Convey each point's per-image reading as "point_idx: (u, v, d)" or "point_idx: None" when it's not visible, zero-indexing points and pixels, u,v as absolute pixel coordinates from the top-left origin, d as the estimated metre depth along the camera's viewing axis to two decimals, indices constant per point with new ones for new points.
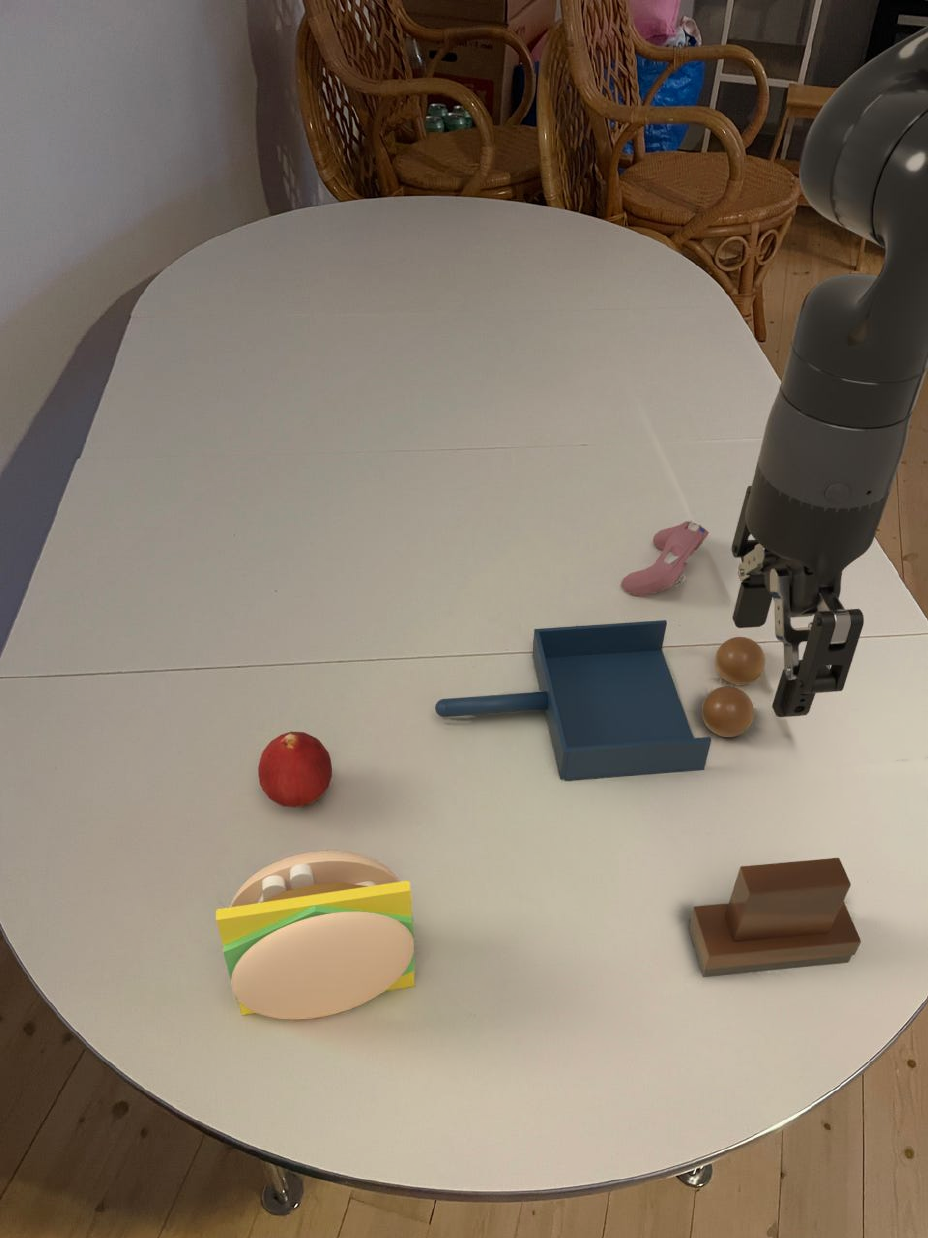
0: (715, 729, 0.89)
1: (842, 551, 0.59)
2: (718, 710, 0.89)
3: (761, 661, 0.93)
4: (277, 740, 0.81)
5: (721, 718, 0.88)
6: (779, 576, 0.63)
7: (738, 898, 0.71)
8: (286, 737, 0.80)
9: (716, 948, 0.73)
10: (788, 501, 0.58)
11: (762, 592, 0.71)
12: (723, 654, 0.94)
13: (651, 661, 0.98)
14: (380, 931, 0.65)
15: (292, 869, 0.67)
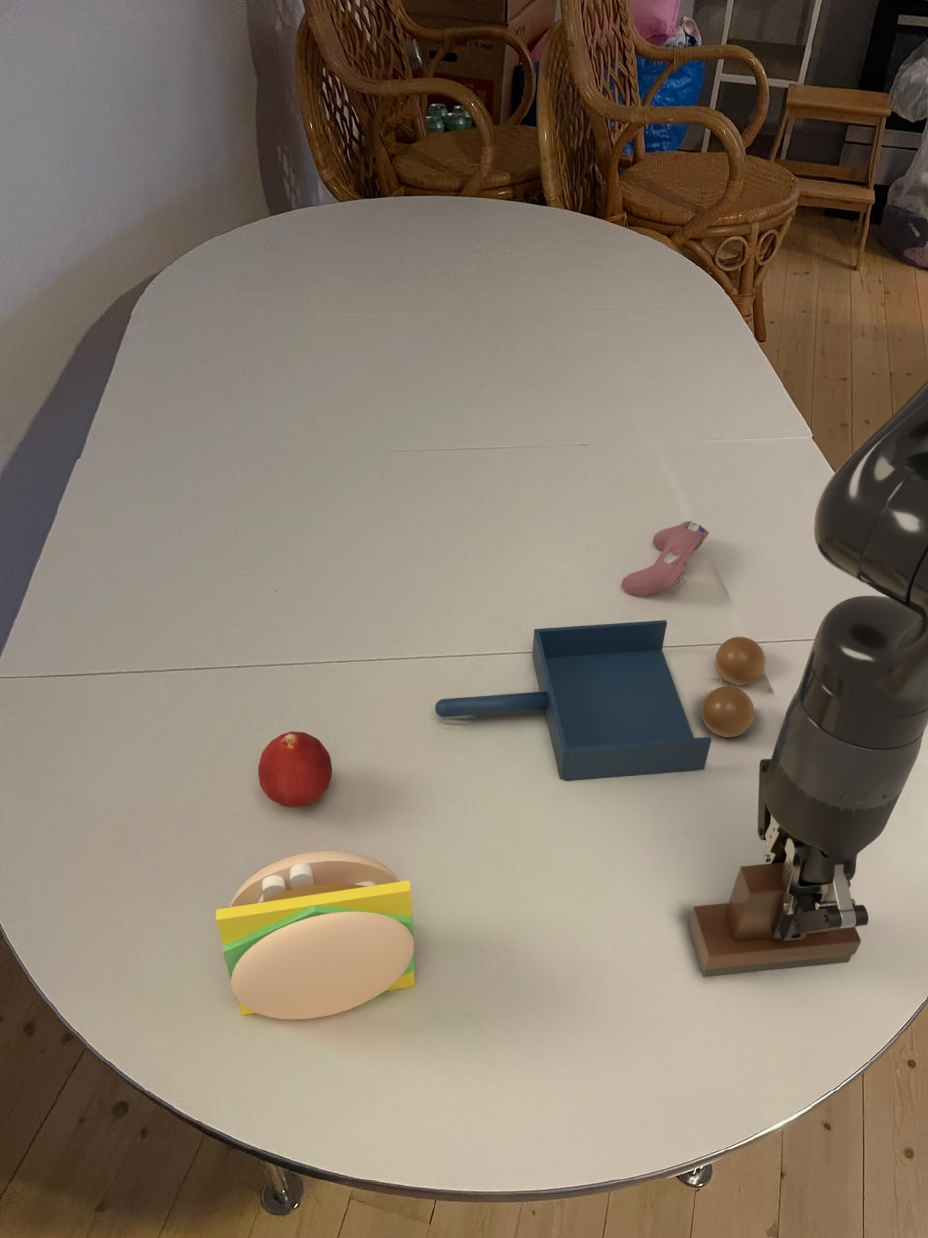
0: (715, 729, 0.89)
1: (857, 840, 0.61)
2: (718, 710, 0.89)
3: (761, 661, 0.93)
4: (277, 740, 0.82)
5: (721, 718, 0.88)
6: (796, 848, 0.65)
7: (738, 898, 0.71)
8: (286, 737, 0.80)
9: (716, 948, 0.73)
10: (806, 798, 0.60)
11: None
12: (723, 654, 0.94)
13: (651, 661, 0.98)
14: (380, 931, 0.65)
15: (292, 869, 0.67)
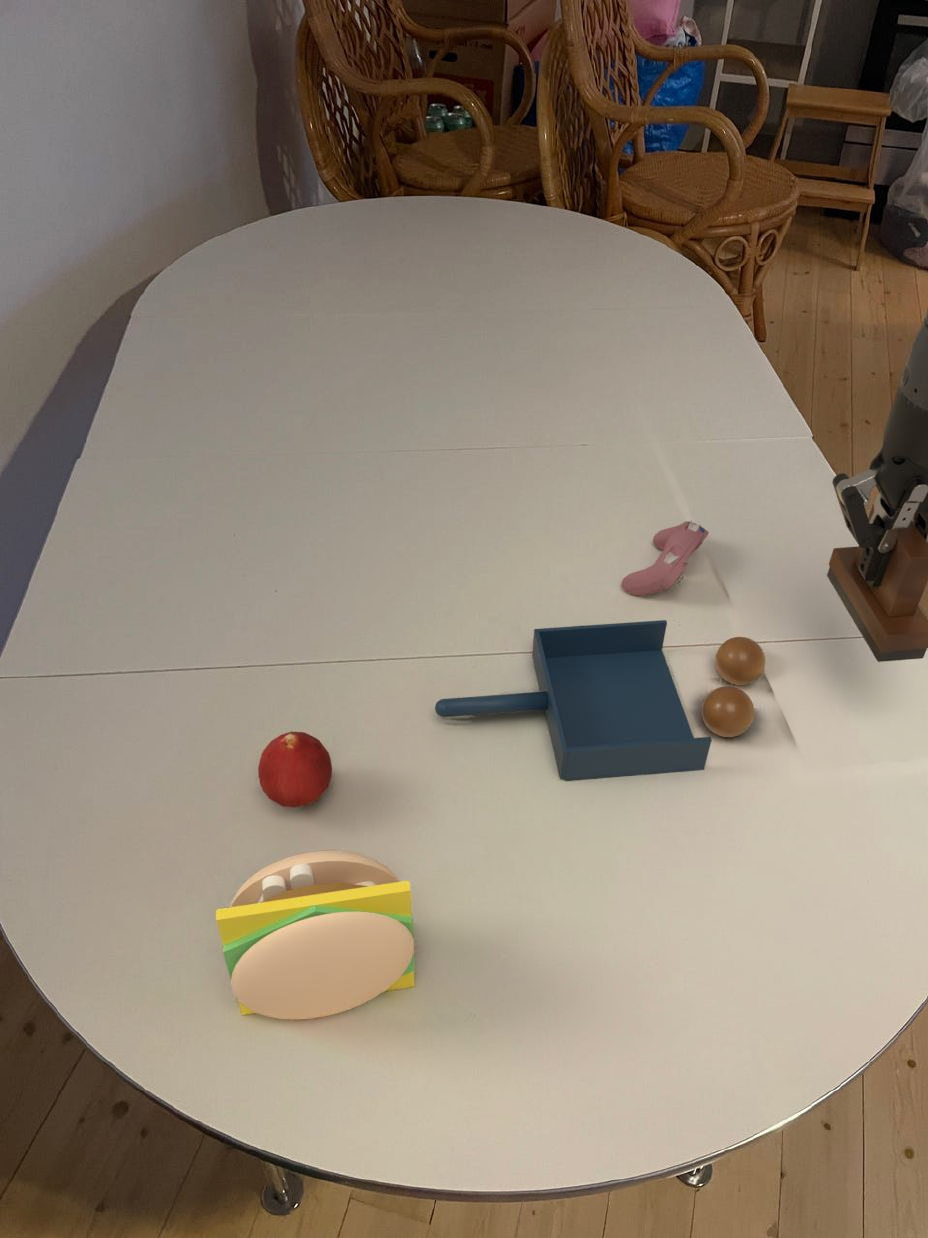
0: (715, 729, 0.89)
1: (894, 436, 0.74)
2: (718, 710, 0.89)
3: (761, 661, 0.93)
4: (277, 740, 0.82)
5: (721, 718, 0.88)
6: None
7: None
8: (286, 737, 0.80)
9: (842, 552, 0.88)
10: None
11: None
12: (723, 654, 0.94)
13: (651, 661, 0.98)
14: (380, 931, 0.65)
15: (292, 869, 0.67)
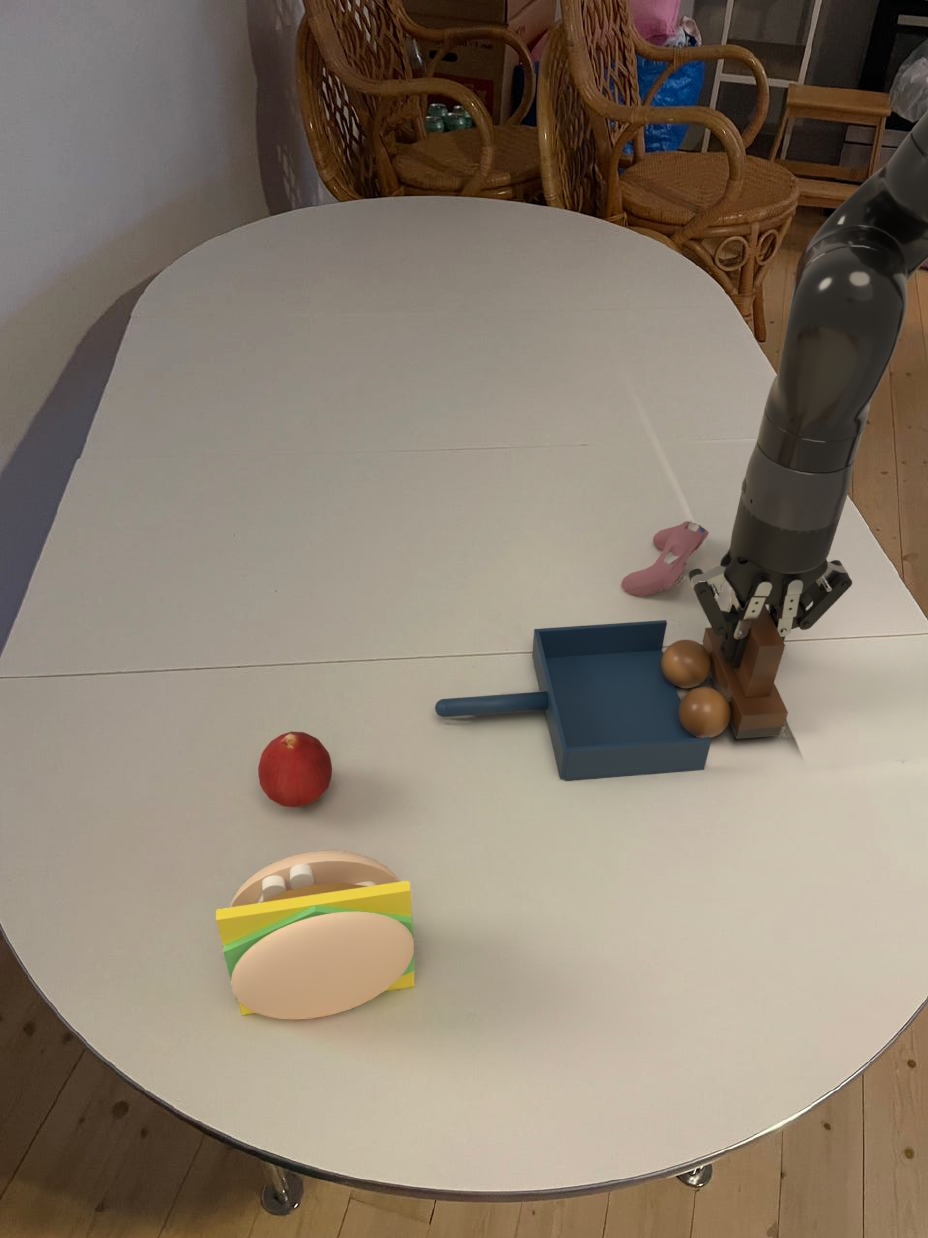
0: None
1: (737, 539, 0.81)
2: (685, 725, 0.89)
3: (671, 674, 0.93)
4: (277, 740, 0.82)
5: (692, 730, 0.89)
6: None
7: None
8: (286, 737, 0.80)
9: (713, 632, 0.95)
10: None
11: None
12: None
13: (651, 661, 0.98)
14: (380, 931, 0.65)
15: (292, 869, 0.67)
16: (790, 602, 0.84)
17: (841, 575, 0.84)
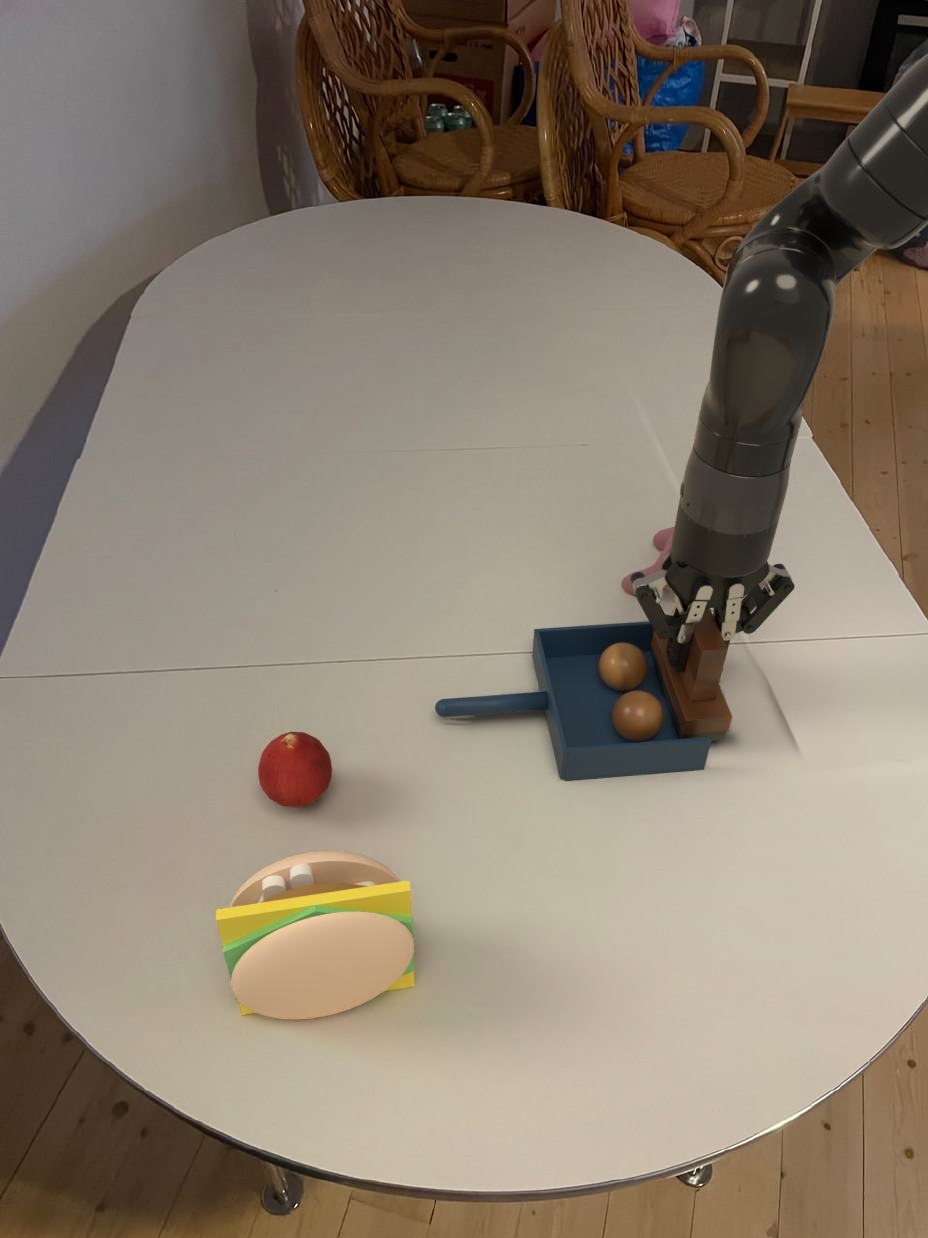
0: (656, 720, 0.88)
1: (677, 542, 0.80)
2: None
3: (640, 683, 0.94)
4: (277, 740, 0.81)
5: (659, 730, 0.89)
6: None
7: None
8: (286, 737, 0.80)
9: None
10: None
11: None
12: (632, 651, 0.92)
13: (651, 661, 0.98)
14: (380, 931, 0.65)
15: (292, 869, 0.67)
16: (732, 606, 0.84)
17: (783, 579, 0.84)
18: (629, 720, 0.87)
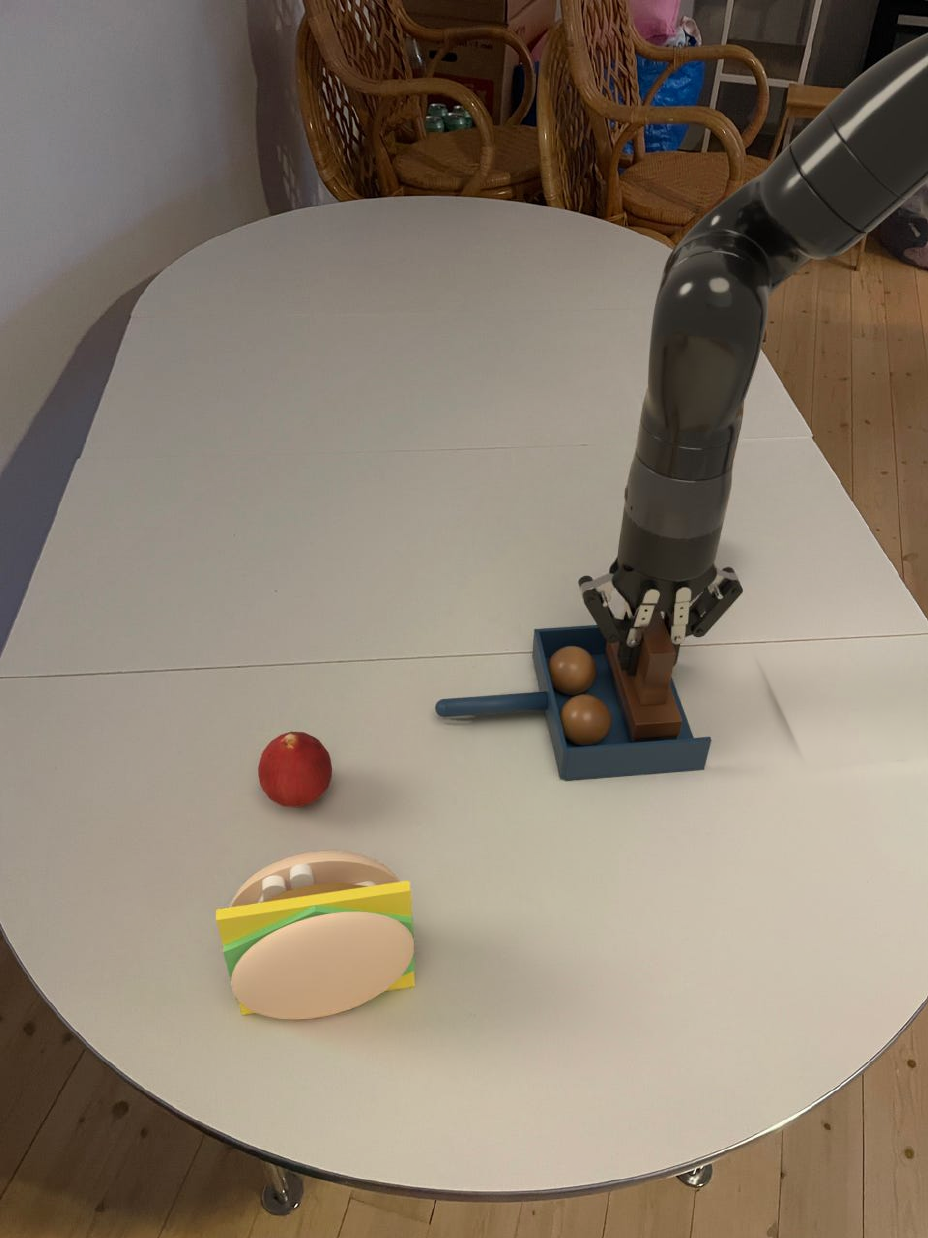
0: (571, 732, 0.87)
1: (622, 546, 0.80)
2: (583, 714, 0.87)
3: (576, 668, 0.91)
4: (277, 740, 0.82)
5: (583, 722, 0.87)
6: None
7: None
8: (286, 737, 0.80)
9: None
10: None
11: None
12: None
13: None
14: (380, 931, 0.65)
15: (292, 869, 0.67)
16: (680, 610, 0.83)
17: (732, 582, 0.83)
18: None
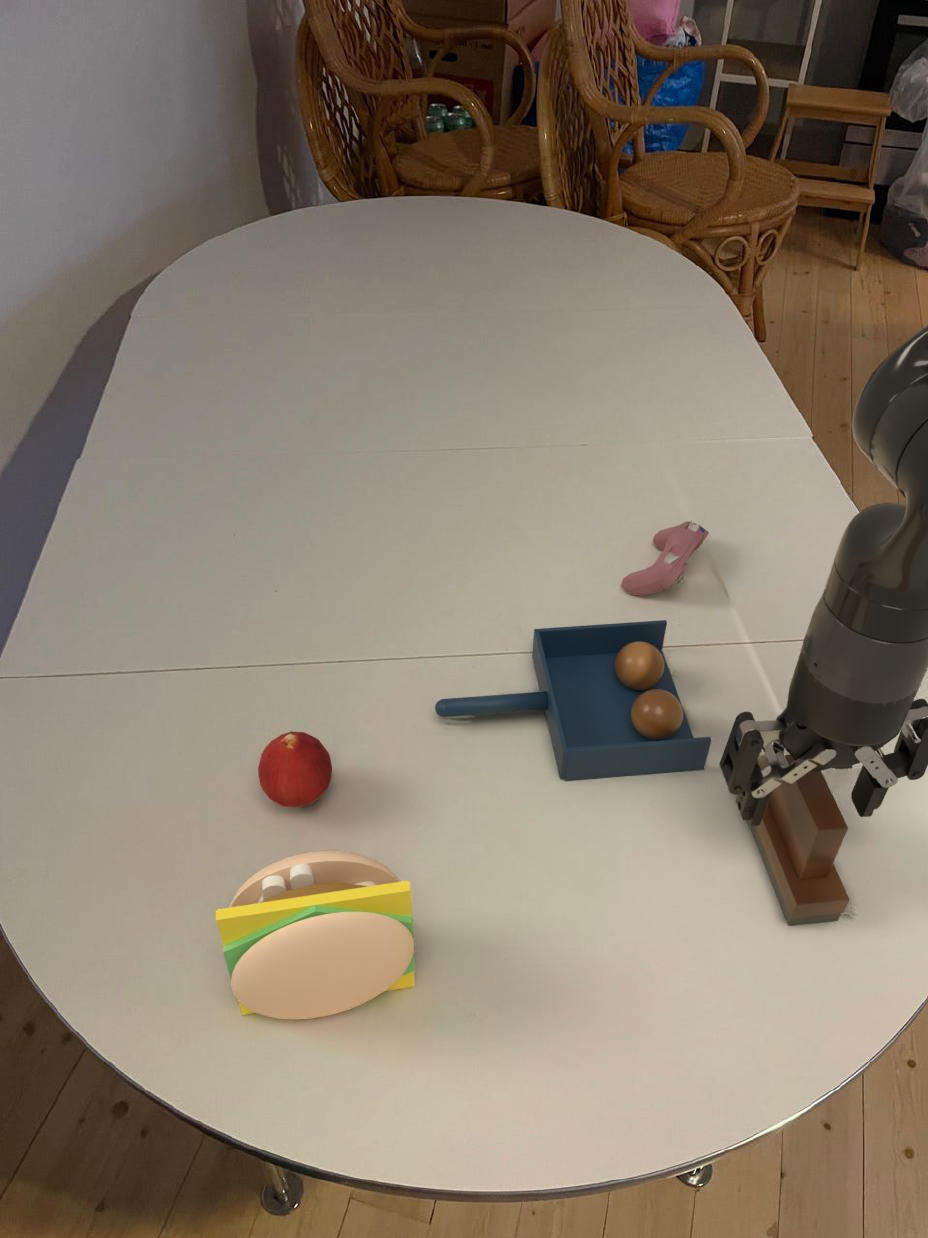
0: (679, 726, 0.88)
1: (797, 702, 0.69)
2: None
3: None
4: (277, 740, 0.81)
5: (670, 736, 0.89)
6: None
7: None
8: (286, 737, 0.80)
9: None
10: None
11: (868, 783, 0.76)
12: (661, 656, 0.93)
13: None
14: (380, 931, 0.65)
15: (292, 869, 0.67)
16: (871, 763, 0.72)
17: (924, 722, 0.71)
18: (662, 713, 0.87)
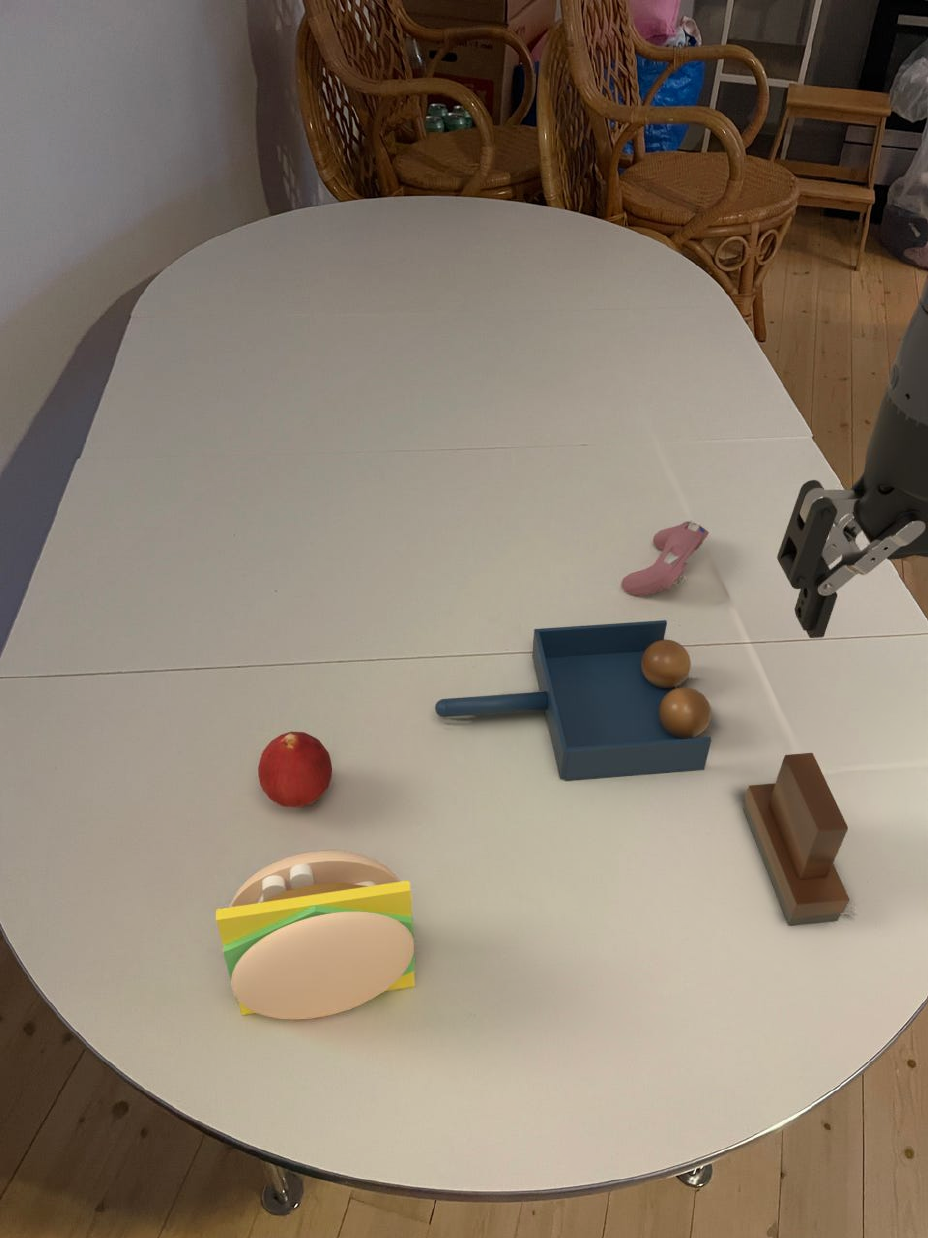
0: None
1: (879, 457, 0.56)
2: None
3: (654, 684, 0.94)
4: (277, 740, 0.82)
5: (679, 737, 0.89)
6: None
7: None
8: (286, 737, 0.80)
9: (758, 791, 0.83)
10: None
11: None
12: None
13: None
14: (380, 931, 0.65)
15: (292, 869, 0.67)
16: None
17: None
18: (707, 717, 0.88)
